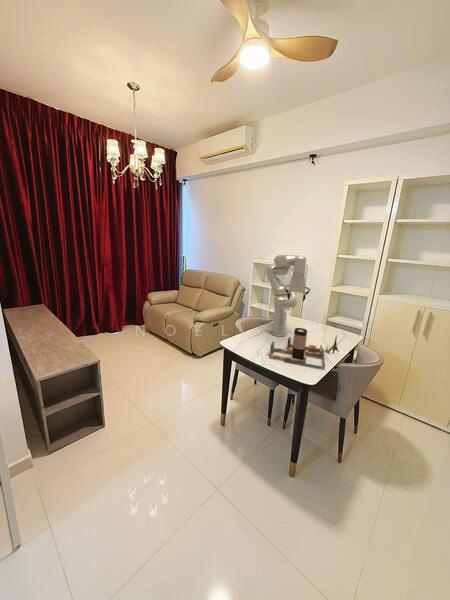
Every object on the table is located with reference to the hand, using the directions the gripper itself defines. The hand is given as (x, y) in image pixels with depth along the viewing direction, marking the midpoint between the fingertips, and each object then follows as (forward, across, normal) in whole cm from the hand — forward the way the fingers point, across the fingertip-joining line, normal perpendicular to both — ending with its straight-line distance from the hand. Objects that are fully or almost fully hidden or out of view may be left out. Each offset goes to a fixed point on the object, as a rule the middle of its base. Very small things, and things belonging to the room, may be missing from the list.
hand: (296, 299), depth 167 cm
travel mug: (+34, +6, -19) cm, 40 cm away
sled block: (+34, +9, -6) cm, 36 cm away
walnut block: (+34, +14, -6) cm, 38 cm away
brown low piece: (+34, 0, -19) cm, 39 cm away
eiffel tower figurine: (+35, +28, +4) cm, 45 cm away
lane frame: (+34, +9, -14) cm, 38 cm away
